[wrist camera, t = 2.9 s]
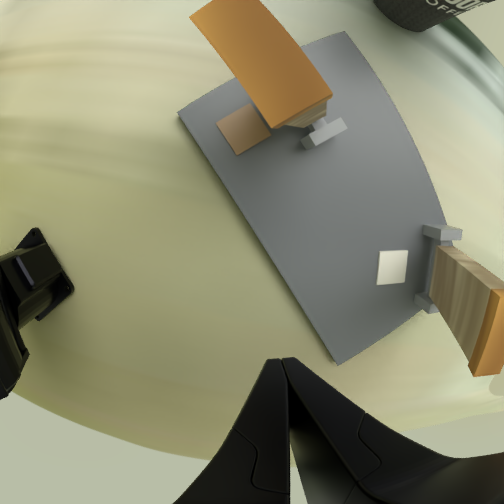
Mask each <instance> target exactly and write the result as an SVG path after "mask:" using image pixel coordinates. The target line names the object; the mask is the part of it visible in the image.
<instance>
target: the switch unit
mask: <svg viewBox="0 0 504 504" xmlns="http://www.w3.org/2000/svg"><path fill="white" fill-rule="evenodd" d="M300 48H301V49H302V51H303V52H304V53H305V55H306V56H307V57H308V59H309V60H310V61H311V63H312V64H313V65H314V67H315V68H316V69H317V71H318V72H319V74H320V75H321V76H322V78H323V79H324V81H325V82H326V84H327V85H328V87H329V88H330V90H331V91H332V93H333V96H332V98H331V99H329V100H327V111H326V116H324V117H323V118H321V119H319V120H317V121H315V122H313V123H312V124H310V125H308V126H306V127H304V128H301V127H295V126H289V125H283V126H281V127H280V128H278V129H276V128H271V127H270V126H269V124H268V123H267V121H266V120H265V118H264V117H263V115H262V114H261V112H260V111H259V109H258V108H257V106H256V105H255V103H254V102H253V100H252V99H251V98H250V96H249V95H248V93H247V92H246V91H245V89H244V88H243V86H242V85H241V84H240V82H239V81H238V79H237V78H236V77H235V78H233V79H231V80H230V81H228V82H226V83H224V84H222V85H221V86H219V87H217V88H215V89H214V90H212V91H210V92H208V93H207V94H205V95H203V96H202V97H200V98H199V99H197V100H195V101H194V102H192V103H190V104H189V105H187V106H186V107H184V108H183V109H181V110H180V111H178V112H177V113H178V115H179V116H180V118H181V119H182V121H183V122H184V124H185V125H186V127H187V128H188V130H189V131H190V133H191V134H192V136H193V137H194V139H195V141H196V142H197V144H198V145H199V147H200V148H201V150H202V151H203V153H204V154H205V156H206V157H207V159H208V160H209V162H210V164H211V165H212V167H213V168H214V170H215V171H216V173H217V174H218V176H219V177H220V179H221V181H222V182H223V184H224V185H225V187H226V188H227V190H228V191H229V193H230V195H231V196H232V198H233V199H234V201H235V202H236V204H237V205H238V207H239V209H240V210H241V212H242V213H243V215H244V216H245V218H246V220H247V221H248V223H249V224H250V226H251V227H252V229H253V231H254V232H255V234H256V235H257V237H258V238H259V240H260V242H261V243H262V245H263V246H264V248H265V249H266V251H267V253H268V254H269V256H270V257H271V259H272V261H273V262H274V264H275V265H276V267H277V268H278V270H279V272H280V273H281V275H282V276H283V278H284V280H285V281H286V283H287V284H288V286H289V288H290V289H291V291H292V292H293V294H294V296H295V297H296V299H297V300H298V302H299V304H300V305H301V307H302V309H303V310H304V312H305V313H306V315H307V317H308V318H309V320H310V321H311V323H312V325H313V326H314V328H315V330H316V331H317V333H318V334H319V336H320V338H321V339H322V341H323V343H324V344H325V346H326V347H327V349H328V351H329V352H330V354H331V356H332V357H333V359H334V361H335V362H336V364H337V365H340V364H342V363H343V362H345V361H347V360H348V359H350V358H352V357H353V356H355V355H357V354H358V353H360V352H361V351H363V350H365V349H366V348H368V347H369V346H371V345H372V344H374V343H375V342H377V341H378V340H380V339H381V338H383V337H384V336H386V335H387V334H389V333H390V332H392V331H393V330H394V329H396V328H397V327H399V326H400V325H401V324H403V323H404V322H406V321H407V320H408V319H410V318H411V317H412V316H414V315H415V314H416V313H418V312H419V311H420V310H422V309H423V310H424V311H426V312H427V313H428V314H431V313H436V312H439V310H438V309H437V307H436V306H435V304H434V303H433V301H432V299H431V298H430V296H429V292H430V286H431V280H432V273H433V266H434V259H435V251H436V245H439V246H453V243H452V240H461V238H462V229H458V228H455V227H451V226H448V225H447V223H446V220H445V217H444V214H443V211H442V208H441V205H440V203H439V200H438V197H437V194H436V192H435V189H434V186H433V184H432V181H431V179H430V176H429V174H428V172H427V169H426V167H425V165H424V162H423V160H422V158H421V156H420V153H419V151H418V149H417V147H416V145H415V143H414V141H413V139H412V137H411V135H410V133H409V131H408V129H407V127H406V125H405V123H404V121H403V119H402V117H401V115H400V114H399V112H398V110H397V108H396V107H395V105H394V103H393V101H392V100H391V98H390V96H389V94H388V93H387V91H386V90H385V88H384V86H383V85H382V83H381V82H380V80H379V78H378V77H377V75H376V74H375V72H374V71H373V69H372V68H371V66H370V65H369V63H368V62H367V60H366V59H365V58H364V56H363V55H362V53H361V52H360V51H359V49H358V48H357V47H356V45H355V44H354V43H353V41H352V40H351V39H350V37H349V36H348V35H347V34H346V32H345V31H343V32H340V33H337V34H334V35H331V36H328V37H325V38H322V39H320V40H317V41H314V42H312V43H309V44H307V45H304V46H301V47H300Z"/></svg>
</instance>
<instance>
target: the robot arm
mask: <svg viewBox="0 0 504 504" xmlns="http://www.w3.org/2000/svg"><path fill="white" fill-rule="evenodd" d="M35 233H36V235H35ZM67 286H68V287H69V290H68V289H67ZM73 291H74V287H73V285H72V283H71V282H70V280H69V278H68V277H67V275H66V274H65V272H64V271H63V269H62V268H61V266H60V264H59V263H58V261H57V259H56V258H55V256H54V255H53V253H52V251H51V249H50V248H49V246H48V244H47V242H46V241H45V239H44V237H43V235H42V233H41V232H40V230H39V229H38V228H37V227H35V228H32V229H31V230H30V231H29V233H28V234H27V235H26V236H25V237H24V239H23V240H22V241H21V242H20V244H19V245H18V246H17V247H16V249H15V250H14V251H12V252H9V253H7V254H4V255H2V256H0V400H1V399H3V398H5V397H7V396H8V394H9V393H10V392H11V391H12V390H13V388H14V387H15V385H16V383H17V381H18V380H19V378H20V376H21V372H22V370H23V367H24V365H25V363H26V361H27V359H28V357H29V355H30V354H29V352H28V349H27V348H26V347H25V345H24V342H23V340H22V337H21V335H20V332H19V330H20V329H21V328H22V327H23V326H25V325H26V324H27V323H28V322H30V321H31V320H32V319H33V318H35V319H36V320H37V321H40V320H41V319H43V318H44V317H45V316H46V315H47V314H48V313H49V312H50V311H52V310H53V309H54V308H55V307H56V306H57V305H58V304H59V303H61V302H62V301H63V300H64V299H65V298H66V297H68V296H69V295H70V294H71V293H72V292H73ZM38 315H39V316H38ZM290 444H291V447H292V451H293V454H294V458H295V461H296V465H297V468H298V472H299V475H300V479H301V482H302V486H303V489H304V492H305V495H306V499H307V503H308V504H504V452H502V453H497V454H491V455H485V456H478V457H470V458H453V457H448V456H444V455H442V454H439V453H437V452H435V451H433V450H431V449H429V448H426V447H425V446H423V445H420V444H418V443H416V442H414V441H413V440H411V439H408V438H407V437H405V436H403V435H401V434H399V433H398V432H396V431H394V430H392V429H390V428H389V427H387V426H386V425H384V424H383V423H381V422H380V421H378V420H377V419H375V418H374V417H372V416H371V415H370V414H368V413H365V411H364V410H363V409H361V408H360V407H359V406H357V405H356V404H354V403H353V402H352V401H350V400H349V399H348V398H346V397H345V396H344V395H342V394H341V393H340V392H338V391H337V390H336V389H335V388H333V387H332V386H331V385H329V384H328V383H327V382H325V381H324V380H323V379H322V378H320V377H319V376H318V375H316V374H315V373H314V372H313V371H311V370H310V369H309V368H308V367H306V366H305V365H304V364H303V363H301V362H300V361H299V360H298V359H296V358H295V357H289V358H282V359H279V358H276V359H267V360H266V362H265V364H264V366H263V368H262V370H261V372H260V374H259V376H258V378H257V380H256V382H255V384H254V386H253V388H252V390H251V392H250V394H249V396H248V398H247V400H246V402H245V404H244V406H243V408H242V410H241V412H240V413H239V415H238V417H237V419H236V421H235V423H234V425H233V427H232V429H231V430H230V432H229V434H228V436H227V437H226V439H225V441H224V442H223V444H222V446H221V447H220V449H219V450H218V452H217V453H216V455H215V456H214V457H213V459H212V460H211V461H210V463H209V464H208V465H207V466H206V468H205V469H204V470H203V471H202V472H201V474H200V475H199V476H198V477H197V478H196V479H195V480H194V482H193V483H192V484H191V485H190V486H189V487H188V488H187V489H186V491H185V492H184V493H183V494H182V495H181V496H180V497H179V498H178V499H177V500H176V501H175V502H174V503H173V504H290Z"/></svg>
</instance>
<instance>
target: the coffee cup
mask: <svg viewBox="0 0 504 504" xmlns="http://www.w3.org/2000/svg"><path fill="white" fill-rule="evenodd" d="M492 1H495V0H374V2H375V4H376V5H377V7H378V8H379V9H380V10H381V11H382V12H383V13H384V14H385V15H386V16H387V17H388V18H389V19H391V20H392V21H393V22H395V23H396V24H398V25H400V26H401V27H403V28H406V29H408V30H411V31H416V32H421V31H424V30H426V29H429V28H431V27H433V26H435V25H437V24H439V23H441V22H443V21H445V20H448V19H450V18H452V17H454V16H457V15H459V14H461V13H463V12H466V11H468V10H471V9H473V8H475V7H478V6H481V5H484V4H486V3H489V2H492Z"/></svg>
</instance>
